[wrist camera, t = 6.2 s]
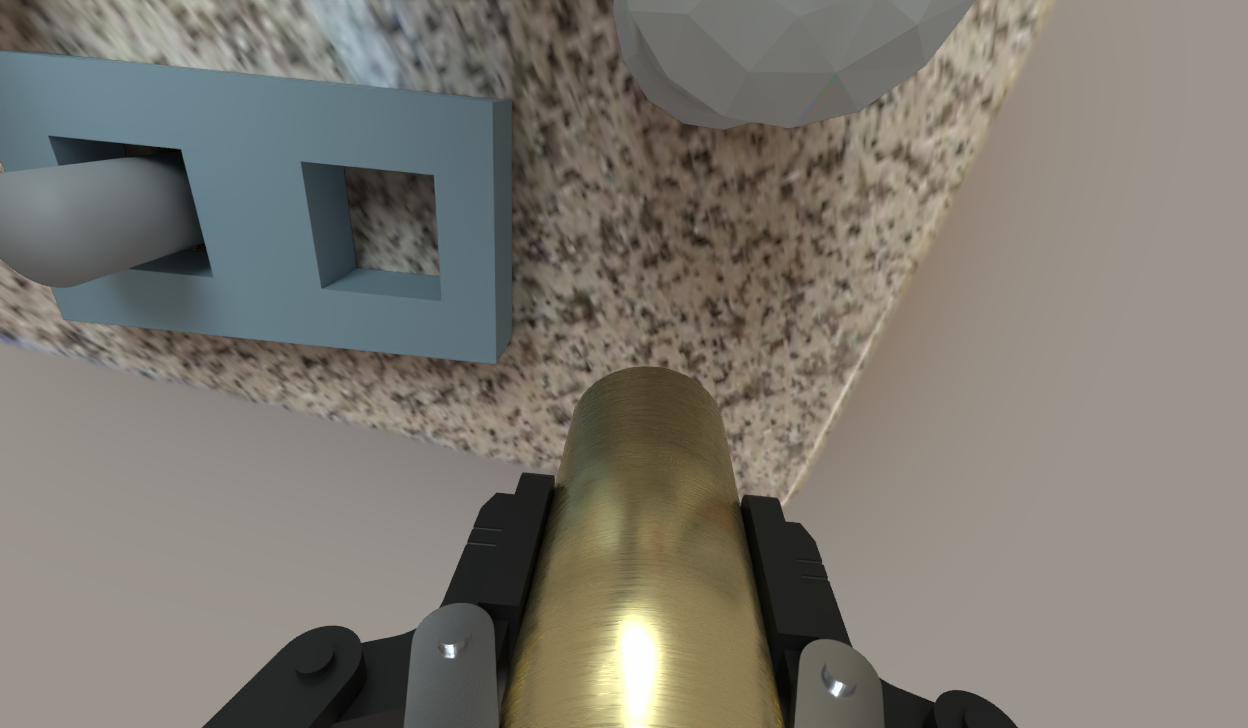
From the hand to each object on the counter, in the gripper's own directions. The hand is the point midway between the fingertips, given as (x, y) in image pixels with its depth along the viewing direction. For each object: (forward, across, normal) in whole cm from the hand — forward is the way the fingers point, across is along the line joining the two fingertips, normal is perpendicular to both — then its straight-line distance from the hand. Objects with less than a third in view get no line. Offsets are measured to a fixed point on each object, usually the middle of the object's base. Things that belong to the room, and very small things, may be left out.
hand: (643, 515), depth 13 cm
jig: (+18, +18, -2) cm, 26 cm away
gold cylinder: (+3, 0, 0) cm, 3 cm away
